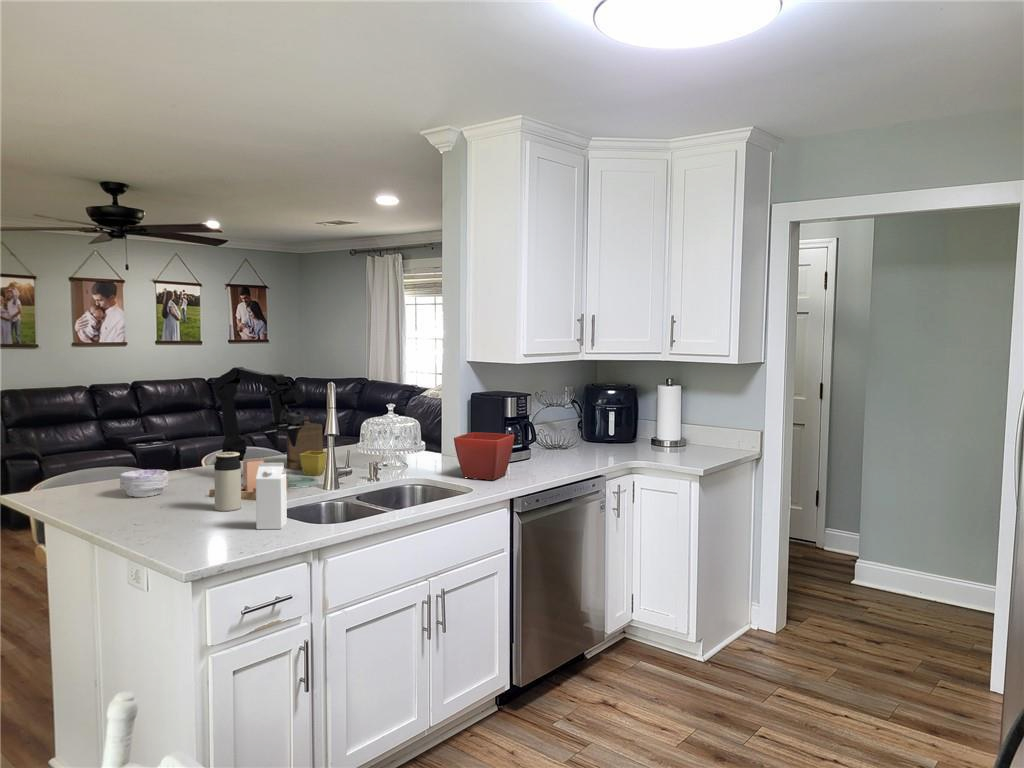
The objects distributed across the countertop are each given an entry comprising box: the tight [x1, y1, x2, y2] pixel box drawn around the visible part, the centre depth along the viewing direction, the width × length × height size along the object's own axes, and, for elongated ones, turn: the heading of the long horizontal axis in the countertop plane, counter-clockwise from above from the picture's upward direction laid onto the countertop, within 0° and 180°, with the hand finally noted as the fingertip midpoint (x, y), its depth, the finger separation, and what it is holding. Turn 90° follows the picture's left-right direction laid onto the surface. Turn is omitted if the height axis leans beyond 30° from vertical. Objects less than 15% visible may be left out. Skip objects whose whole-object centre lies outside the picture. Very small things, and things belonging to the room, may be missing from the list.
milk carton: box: [255, 462, 288, 530], centre depth 216 cm, size 7×7×19 cm
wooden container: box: [286, 415, 324, 471], centre depth 312 cm, size 15×15×22 cm
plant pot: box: [453, 431, 515, 481], centre depth 295 cm, size 19×19×17 cm
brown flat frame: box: [208, 476, 290, 501], centre depth 262 cm, size 18×21×4 cm
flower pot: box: [300, 450, 328, 477], centre depth 296 cm, size 9×9×9 cm
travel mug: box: [213, 451, 242, 512], centre depth 237 cm, size 8×8×18 cm
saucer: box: [289, 476, 319, 487], centre depth 277 cm, size 13×13×2 cm
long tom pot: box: [242, 457, 265, 492], centre depth 260 cm, size 6×6×12 cm
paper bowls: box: [119, 469, 169, 498], centre depth 256 cm, size 15×15×8 cm
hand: (285, 448), depth 276 cm, fingers open, 9 cm apart
